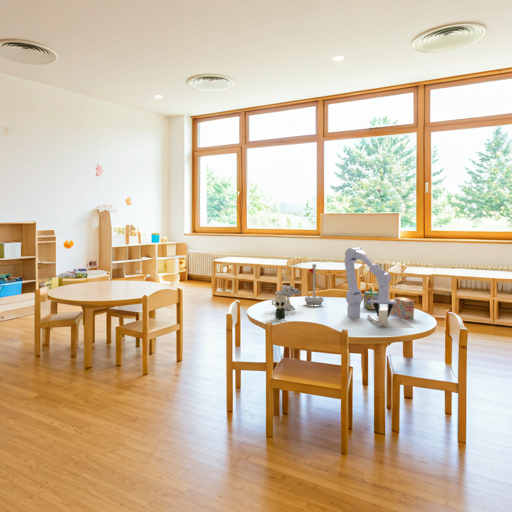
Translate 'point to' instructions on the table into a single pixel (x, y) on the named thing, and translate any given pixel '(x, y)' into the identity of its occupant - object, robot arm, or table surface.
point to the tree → (288, 294)
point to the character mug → (280, 306)
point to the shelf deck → (396, 323)
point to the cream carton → (383, 316)
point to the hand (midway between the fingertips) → (383, 316)
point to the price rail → (374, 321)
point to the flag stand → (313, 300)
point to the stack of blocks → (403, 308)
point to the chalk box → (368, 297)
